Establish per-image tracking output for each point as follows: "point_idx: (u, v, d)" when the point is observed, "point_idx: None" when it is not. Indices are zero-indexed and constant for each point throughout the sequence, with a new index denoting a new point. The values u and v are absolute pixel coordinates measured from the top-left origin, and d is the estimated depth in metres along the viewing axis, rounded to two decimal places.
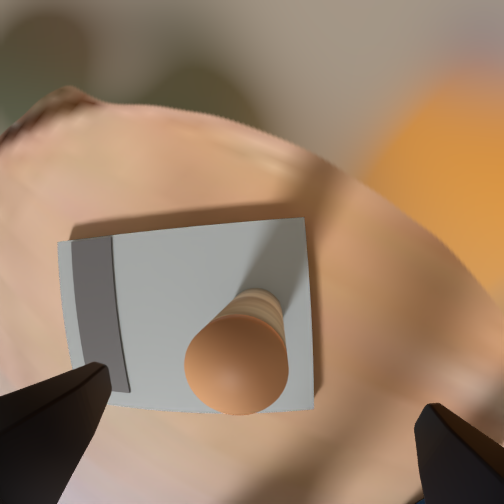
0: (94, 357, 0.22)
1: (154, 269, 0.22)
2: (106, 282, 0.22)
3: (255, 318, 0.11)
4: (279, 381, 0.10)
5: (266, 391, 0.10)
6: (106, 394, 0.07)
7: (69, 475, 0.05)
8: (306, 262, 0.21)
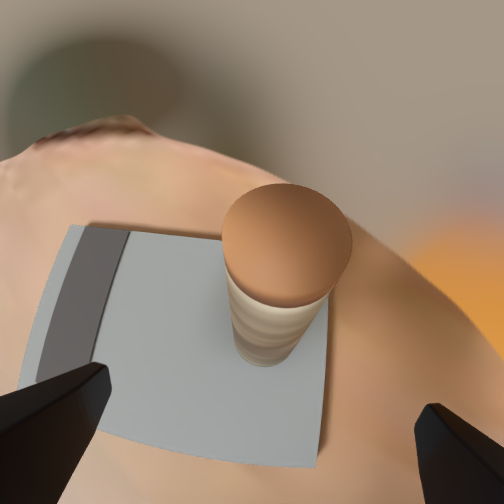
0: (56, 347, 0.17)
1: (164, 270, 0.20)
2: (106, 271, 0.20)
3: None
4: (341, 253, 0.08)
5: (324, 264, 0.08)
6: (106, 394, 0.07)
7: (69, 475, 0.05)
8: None
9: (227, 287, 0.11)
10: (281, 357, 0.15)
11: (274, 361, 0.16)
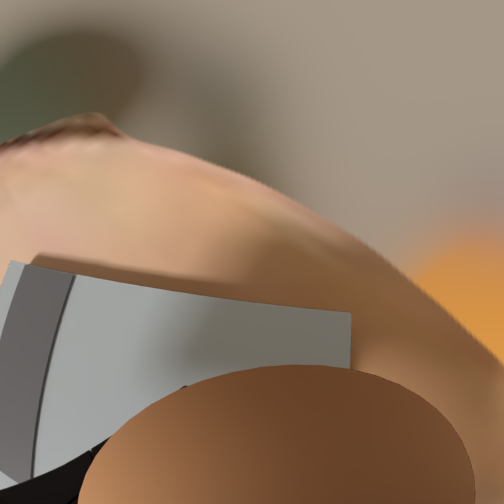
0: None
1: (115, 336, 0.13)
2: (45, 331, 0.13)
3: None
4: None
5: None
6: None
7: None
8: None
9: None
10: None
11: None
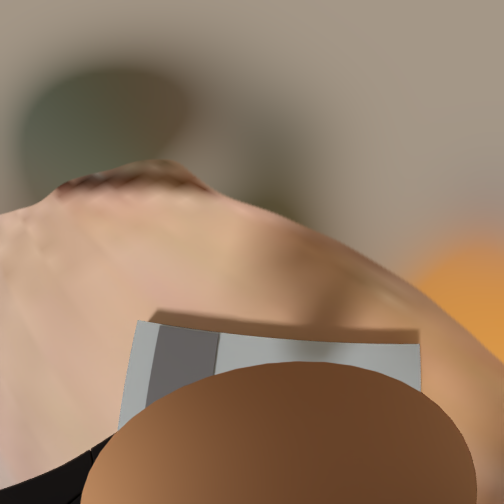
0: None
1: None
2: None
3: None
4: None
5: None
6: None
7: None
8: (419, 385, 0.18)
9: None
10: None
11: None
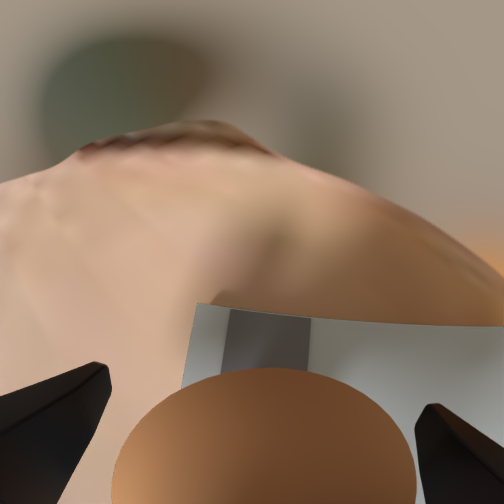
0: None
1: (373, 374, 0.14)
2: None
3: None
4: None
5: None
6: (106, 394, 0.07)
7: (69, 475, 0.05)
8: None
9: None
10: None
11: None
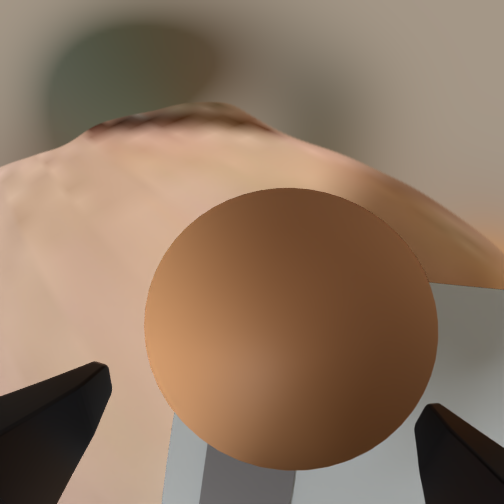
0: None
1: None
2: None
3: None
4: (419, 356, 0.03)
5: (383, 389, 0.03)
6: (106, 394, 0.07)
7: (69, 475, 0.05)
8: None
9: None
10: None
11: None
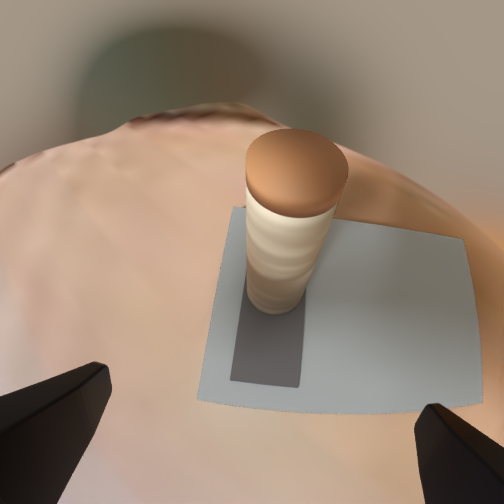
0: (256, 335, 0.18)
1: (354, 252, 0.21)
2: None
3: None
4: (340, 174, 0.10)
5: (327, 181, 0.10)
6: (106, 394, 0.07)
7: (69, 476, 0.05)
8: (469, 269, 0.21)
9: (246, 217, 0.13)
10: (291, 300, 0.17)
11: (284, 305, 0.18)
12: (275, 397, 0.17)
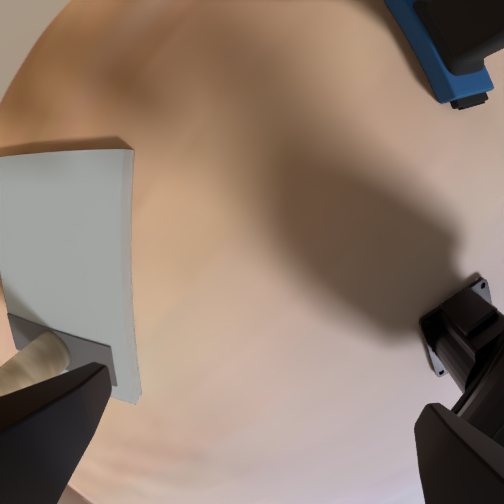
0: None
1: (18, 283, 0.21)
2: (30, 328, 0.22)
3: None
4: None
5: None
6: (106, 394, 0.07)
7: (69, 475, 0.05)
8: (14, 156, 0.18)
9: None
10: (52, 358, 0.19)
11: (58, 358, 0.20)
12: (120, 361, 0.21)
